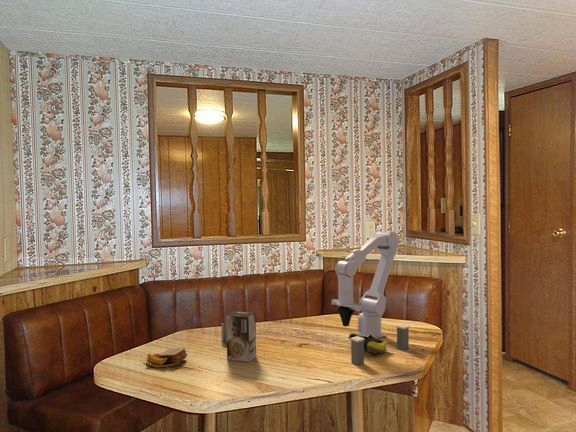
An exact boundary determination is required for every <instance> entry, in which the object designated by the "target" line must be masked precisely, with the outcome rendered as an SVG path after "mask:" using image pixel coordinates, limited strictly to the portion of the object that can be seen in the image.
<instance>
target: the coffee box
mask: <svg viewBox="0 0 576 432" xmlns="http://www.w3.org/2000/svg"><path fill="white" fill-rule="evenodd" d="M256 322H257V321H256V312H254V311H253V312H251V311H238V310H237V311H236V310H233V311H231V312H229V313H228V314H226V315H225V324H226V333H227V342H226V360H227V361H235V362H243V363H244V362H246V363H251V362H252V361H253V360H254V359H255V358H257V331H256V330H257V329H256V327H257V324H256Z"/></svg>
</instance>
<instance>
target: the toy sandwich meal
mask: <svg viewBox="0 0 576 432" xmlns="http://www.w3.org/2000/svg"><path fill="white" fill-rule="evenodd" d="M187 357H188V353H187V352H186V348H185V347H183V346H182V347H173V348H168V349H166V350H165V351H163V352H162V353H161V352H160V353H155V354H153V355H152V354H151V353H147V358H146V364H147V366H149V365H150V366H149V367H151V366H153V367H152V368H155V367H166V368H170V367H169V366H171V367H174V366H173V365H175V366H176V364H177V365H179V364H180V363H181V362H182V361H184V360H185V359H186V358H187ZM150 363H151V364H150ZM178 363H179V364H178Z"/></svg>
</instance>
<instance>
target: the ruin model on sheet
mask: <svg viewBox="0 0 576 432" xmlns="http://www.w3.org/2000/svg"><path fill="white" fill-rule="evenodd" d="M221 342H222V343H227V333H226V323H223V322H221Z"/></svg>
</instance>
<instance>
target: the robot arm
mask: <svg viewBox="0 0 576 432" xmlns="http://www.w3.org/2000/svg"><path fill="white" fill-rule="evenodd" d="M399 242H400V240H399V236H398V234H397V232H395V231H382V230H381V231H380V230H375V231H374V232H373V233H371V235H370V238H369V239H368V240H367V241H366V242H365V243H364V245H362V247H361V248H360V249H357V248H355V249H353V250H352V252H351V253H350V254H349V255H348V256H346V257H345V259H343V260H339V261H338V262H337V263H336V266H335V267H334V271H335V274H336V276H337V280H338V282H337V283H338V291H337V292H338V293H337V294H338V299H337V298H334V299H331V305H332V306H334V305H335V306H339V307H337V308H336V310H337V312H338V314H339V316H340V319H341V322H342V323H341V324H342V326H343V327H344V328H345V327H346V328H347V327H349V326H350V322H351V320H352V317H353V314H354V312H360V311H361V313H359V314H358V317H357V332H356V334H358V335H361V336H365V337H366V336H368V335H373V337H374V338H377V339H379V338H382V337H383V338H384V337H386V335H387V334H385V333H382V316H383V314H385V311H386V305H387V304H386V303H387V297H386V296H385V295H384V291H385V287H386V284H387V281H388V278H389V275H390V272H391V269H392V265H393V263H394V260H395V256H396V252H397V249H398V246H399ZM375 249H376V250H377V251H378V253H380V258H379V261H378V263H377V267H376V270H375V273H374V277H373V280H372V283H371V285H370V288H369V289H368V290H366V291H365V292H364V293H363V295H362V297H361V298H360V300H359V304H358V303H355V302H354V276H355V275H356V273H357V270H358V269H359V268H358V267H360V266H361V265H362V264H363V263H364V262H366V259H367V256H368V255H369V254H370V253H372V252H373V251H374V250H375Z"/></svg>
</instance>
